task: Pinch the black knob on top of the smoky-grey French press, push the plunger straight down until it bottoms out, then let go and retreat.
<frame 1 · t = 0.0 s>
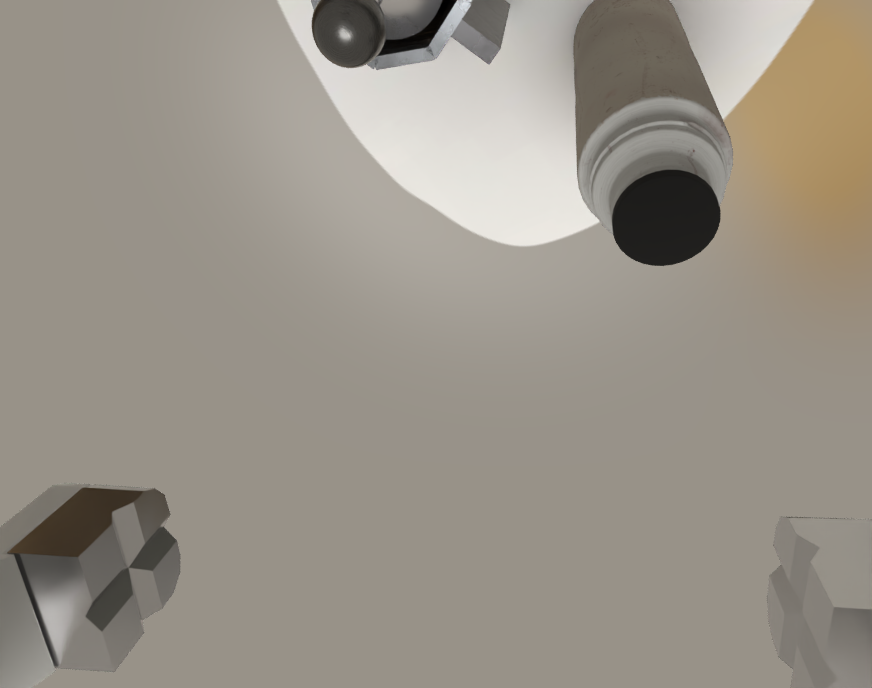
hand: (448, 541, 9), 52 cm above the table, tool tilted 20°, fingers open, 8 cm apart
plunger: (368, 3, 36), point 19 cm above the table, slide at 0.0 cm
thermos bottle: (625, 39, 53), on the table
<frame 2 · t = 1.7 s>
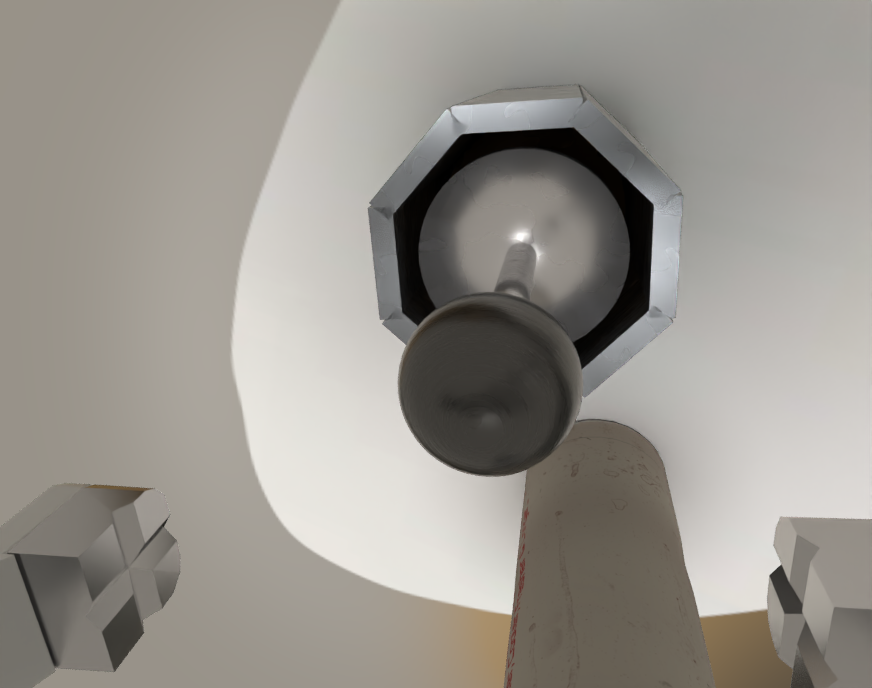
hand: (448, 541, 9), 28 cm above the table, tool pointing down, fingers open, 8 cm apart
plunger: (507, 311, 17), point 19 cm above the table, slide at 0.0 cm
thermos bottle: (594, 477, 40), on the table
octagonal steel cup: (538, 188, 34), on the table
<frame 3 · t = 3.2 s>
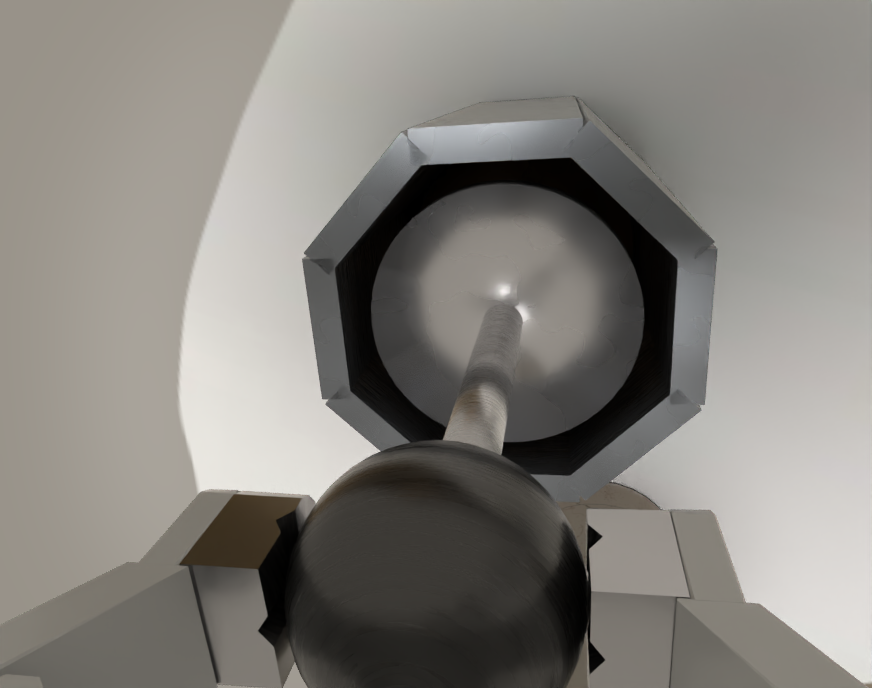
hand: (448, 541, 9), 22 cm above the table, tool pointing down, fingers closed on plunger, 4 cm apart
plunger: (478, 422, 12), point 19 cm above the table, slide at 0.0 cm, touching gripper
thermos bottle: (594, 544, 35), on the table
octagonal steel cup: (528, 217, 29), on the table
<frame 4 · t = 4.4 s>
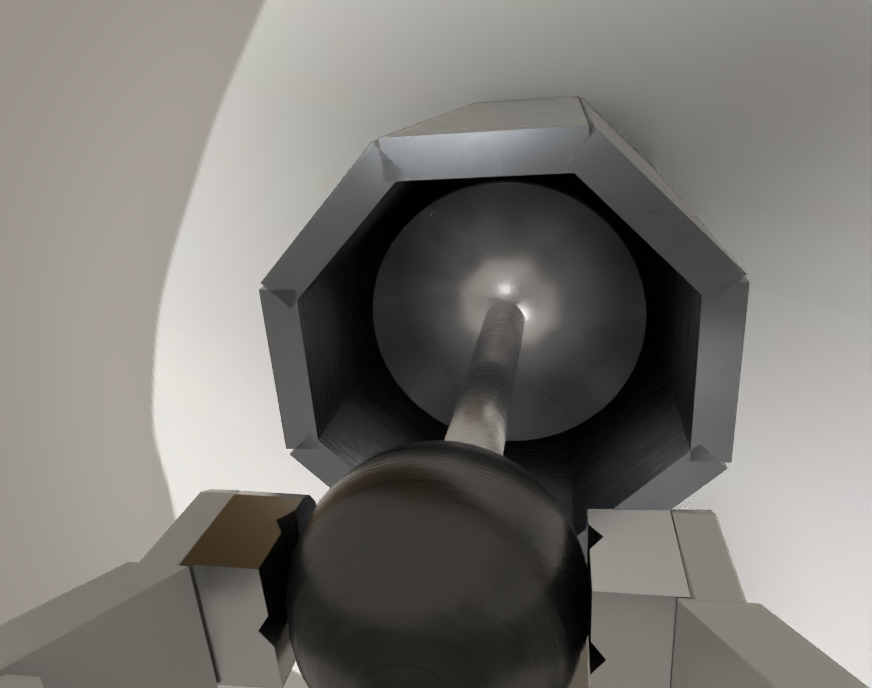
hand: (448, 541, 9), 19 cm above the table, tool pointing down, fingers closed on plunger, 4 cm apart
plunger: (479, 422, 12), point 16 cm above the table, slide at 2.7 cm, touching gripper
thermos bottle: (598, 577, 33), on the table
octagonal steel cup: (527, 228, 27), on the table
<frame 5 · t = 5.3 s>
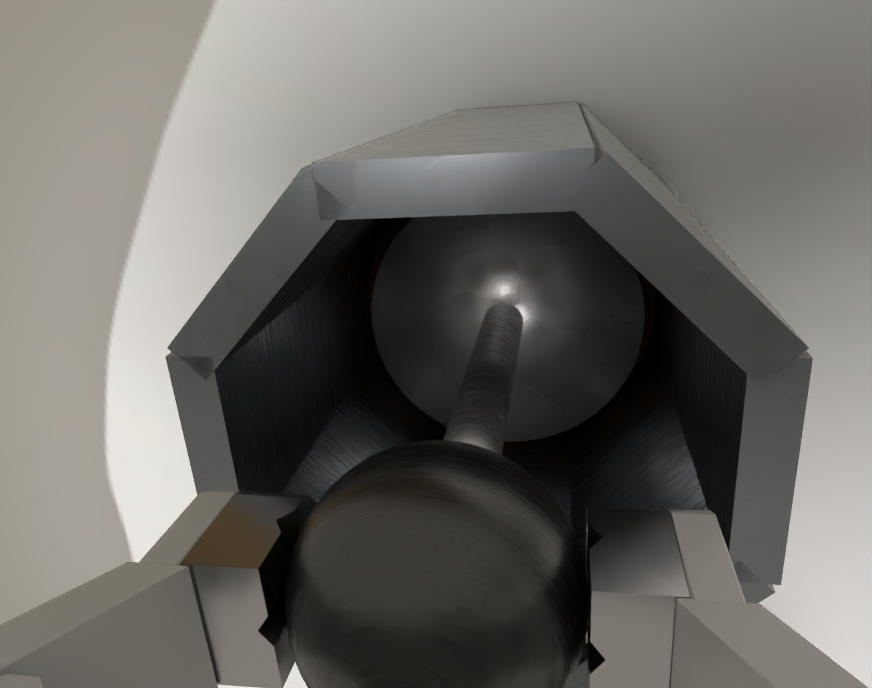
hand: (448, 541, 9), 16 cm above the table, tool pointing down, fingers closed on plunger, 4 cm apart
plunger: (478, 422, 12), point 12 cm above the table, slide at 6.2 cm, touching gripper
octagonal steel cup: (520, 252, 24), on the table
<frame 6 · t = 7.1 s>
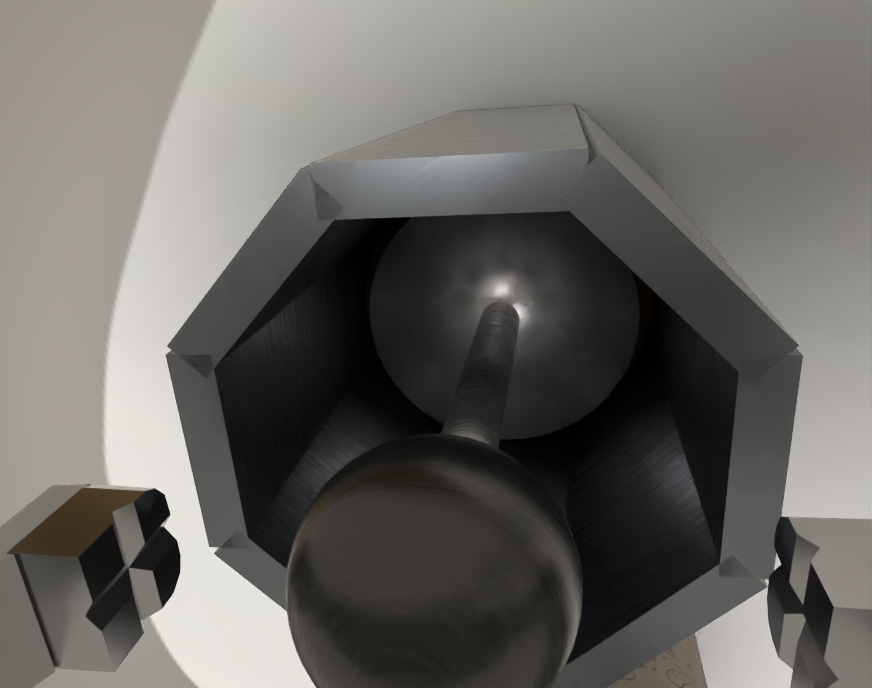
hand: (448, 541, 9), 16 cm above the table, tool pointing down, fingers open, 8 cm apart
plunger: (475, 418, 12), point 12 cm above the table, slide at 6.3 cm
thermos bottle: (597, 634, 29), on the table
octagonal steel cup: (517, 253, 24), on the table
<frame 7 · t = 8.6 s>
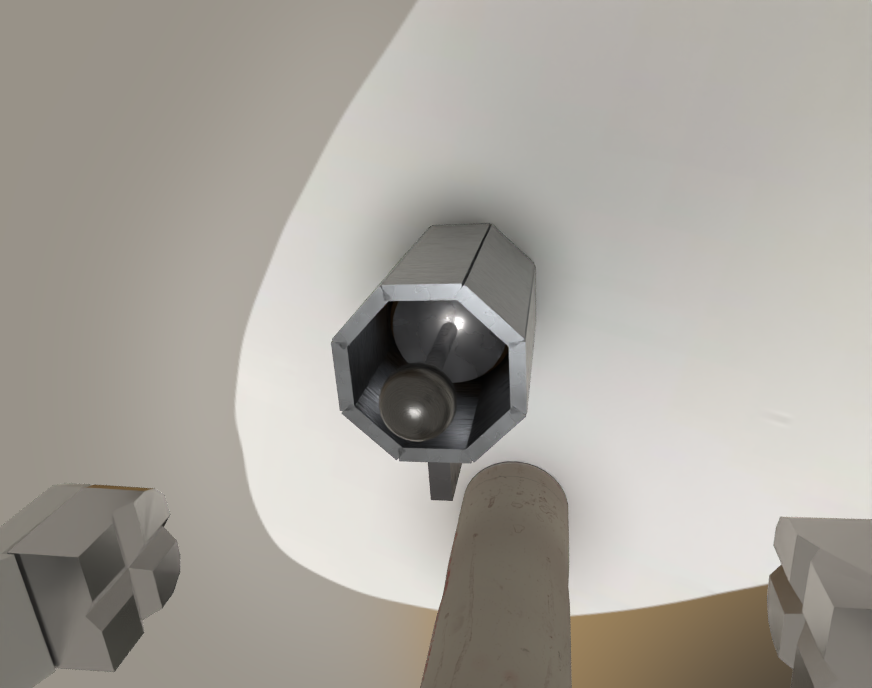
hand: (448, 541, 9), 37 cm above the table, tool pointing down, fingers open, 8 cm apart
plunger: (433, 365, 35), point 12 cm above the table, slide at 6.3 cm
thermos bottle: (515, 505, 52), on the table
octagonal steel cup: (464, 294, 46), on the table
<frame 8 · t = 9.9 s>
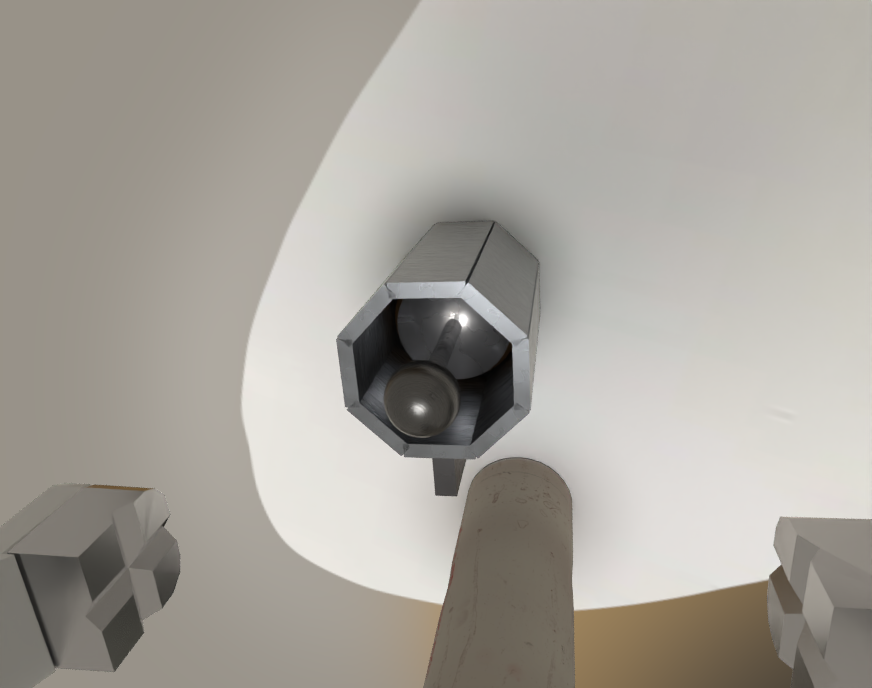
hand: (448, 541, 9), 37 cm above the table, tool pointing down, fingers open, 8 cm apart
plunger: (438, 362, 35), point 12 cm above the table, slide at 6.3 cm
thermos bottle: (519, 500, 53), on the table
octagonal steel cup: (469, 291, 47), on the table
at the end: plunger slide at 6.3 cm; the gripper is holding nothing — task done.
